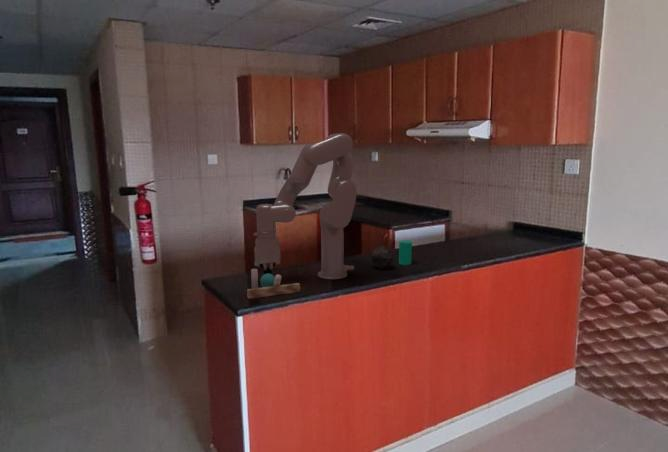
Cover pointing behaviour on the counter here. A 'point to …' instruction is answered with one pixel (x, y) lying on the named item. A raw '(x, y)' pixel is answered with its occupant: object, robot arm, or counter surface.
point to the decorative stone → (382, 257)
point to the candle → (405, 252)
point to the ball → (267, 280)
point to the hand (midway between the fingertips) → (267, 278)
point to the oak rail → (273, 290)
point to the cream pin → (277, 280)
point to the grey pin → (254, 278)
